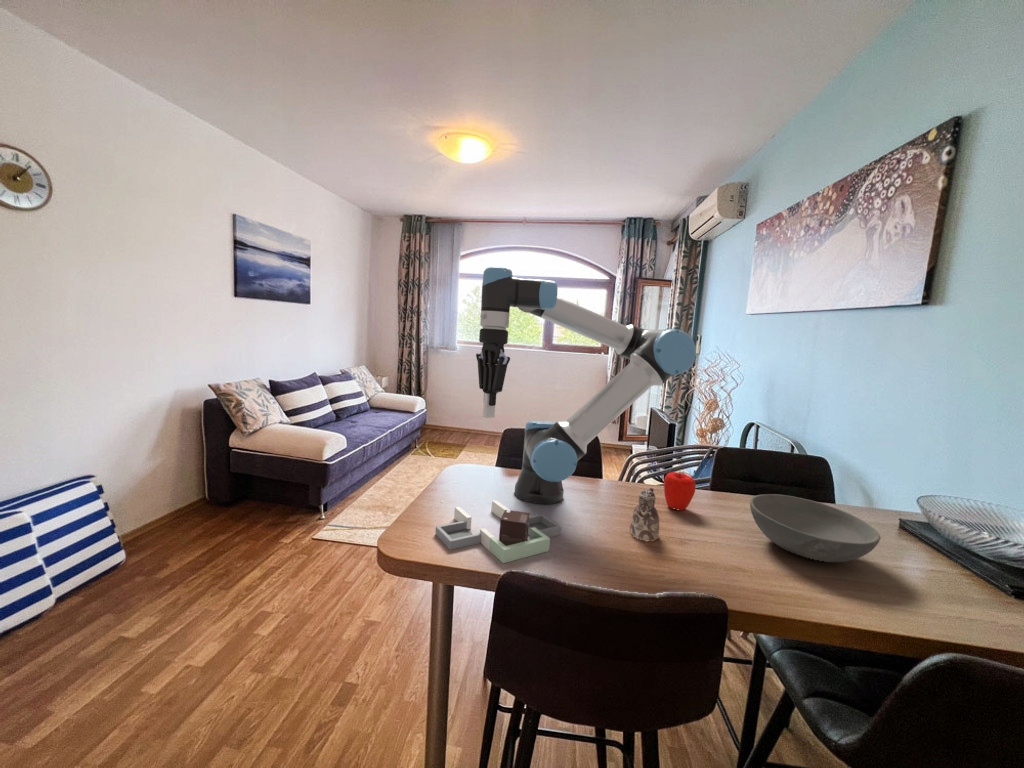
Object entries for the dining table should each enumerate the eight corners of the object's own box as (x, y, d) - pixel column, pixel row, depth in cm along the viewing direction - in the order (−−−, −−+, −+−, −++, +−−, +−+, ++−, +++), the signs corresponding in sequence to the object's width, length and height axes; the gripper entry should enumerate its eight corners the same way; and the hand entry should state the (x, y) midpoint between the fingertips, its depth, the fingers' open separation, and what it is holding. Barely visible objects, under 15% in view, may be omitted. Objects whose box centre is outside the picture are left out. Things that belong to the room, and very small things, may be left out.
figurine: (624, 533, 107) (629, 488, 106) (637, 526, 112) (642, 483, 111) (650, 544, 102) (656, 497, 101) (662, 536, 107) (668, 491, 106)
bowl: (844, 541, 113) (850, 505, 112) (897, 594, 89) (905, 549, 87) (737, 520, 122) (741, 487, 121) (757, 564, 97) (763, 522, 96)
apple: (694, 507, 129) (698, 473, 128) (689, 516, 122) (694, 480, 121) (664, 500, 134) (668, 467, 133) (658, 508, 126) (662, 473, 125)
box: (524, 555, 93) (526, 523, 92) (497, 550, 94) (500, 519, 93) (527, 542, 99) (530, 512, 98) (502, 538, 100) (505, 508, 99)
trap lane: (518, 506, 119) (519, 496, 119) (574, 543, 100) (575, 531, 99) (425, 523, 104) (426, 512, 104) (470, 572, 84) (471, 558, 84)
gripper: (469, 327, 113) (464, 413, 115) (496, 328, 102) (490, 422, 105) (492, 329, 117) (487, 412, 120) (520, 330, 107) (514, 420, 109)
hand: (488, 416), depth 112 cm, fingers closed
